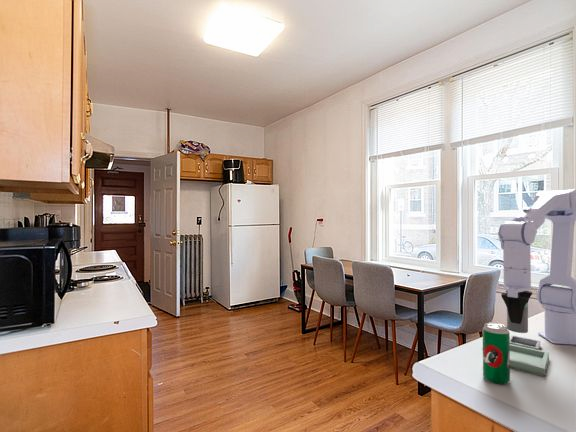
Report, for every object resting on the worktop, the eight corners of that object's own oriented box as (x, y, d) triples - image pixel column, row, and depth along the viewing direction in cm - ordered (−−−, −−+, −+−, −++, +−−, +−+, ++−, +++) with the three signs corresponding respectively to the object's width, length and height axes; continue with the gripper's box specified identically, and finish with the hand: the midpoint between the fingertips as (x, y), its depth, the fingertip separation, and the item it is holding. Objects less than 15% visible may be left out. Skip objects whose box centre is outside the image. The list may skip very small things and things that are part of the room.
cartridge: (522, 327, 85) (522, 301, 85) (531, 333, 80) (531, 305, 80) (504, 326, 86) (504, 300, 86) (511, 332, 81) (511, 304, 81)
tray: (493, 346, 90) (493, 340, 90) (548, 359, 82) (548, 352, 82) (483, 361, 81) (483, 353, 81) (544, 376, 73) (544, 368, 73)
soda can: (514, 386, 69) (513, 330, 69) (488, 384, 70) (487, 328, 70) (503, 375, 74) (503, 322, 74) (479, 373, 75) (478, 321, 75)
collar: (511, 340, 95) (511, 335, 95) (540, 346, 90) (540, 341, 90) (507, 347, 90) (507, 341, 90) (537, 354, 85) (537, 348, 85)
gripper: (503, 263, 91) (504, 311, 91) (492, 269, 81) (493, 323, 80) (534, 265, 86) (535, 316, 86) (527, 272, 76) (528, 330, 76)
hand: (517, 320), depth 83 cm, fingers closed on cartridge, 4 cm apart
